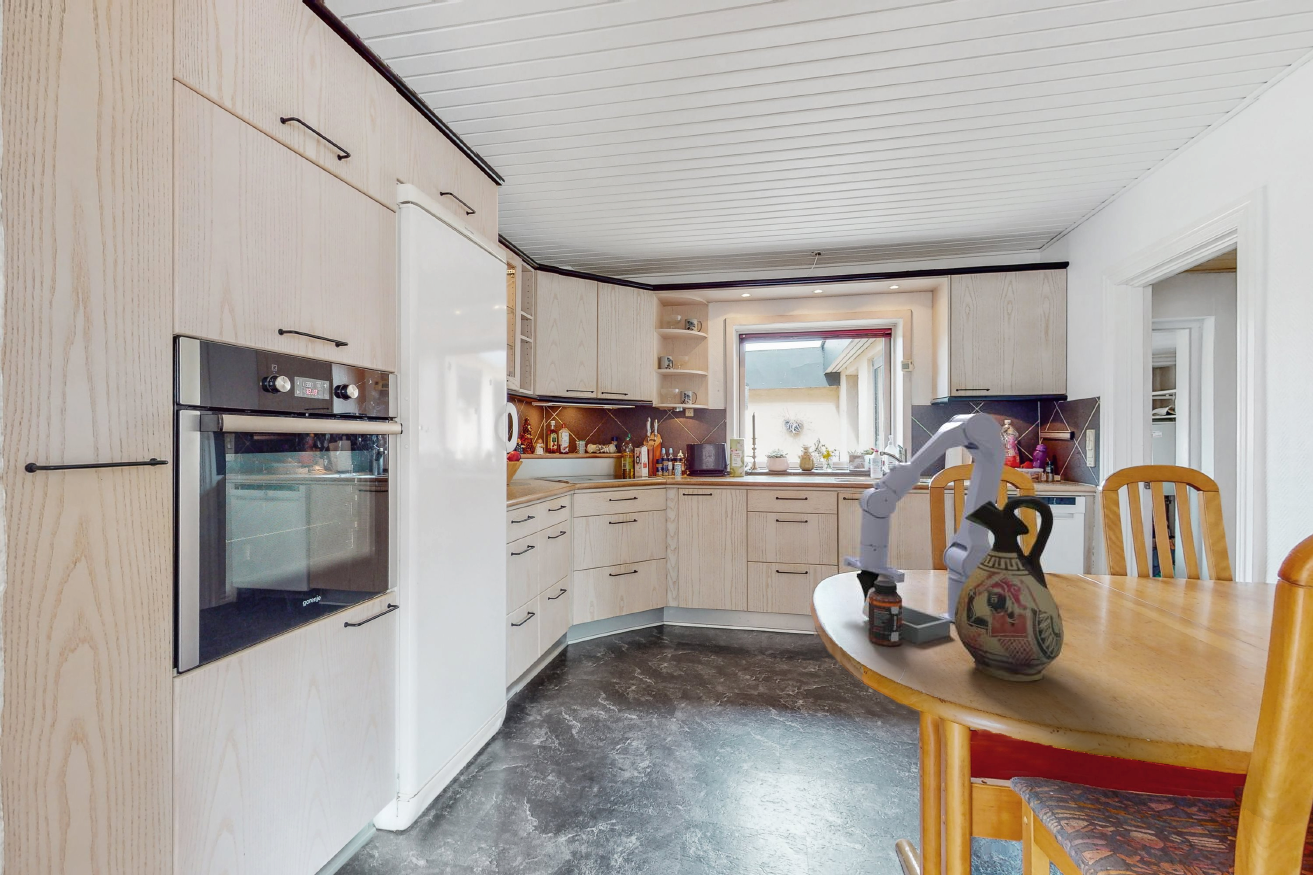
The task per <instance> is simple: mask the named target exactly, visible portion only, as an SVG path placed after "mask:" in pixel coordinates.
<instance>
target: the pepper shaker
mask: <svg viewBox="0 0 1313 875" xmlns="http://www.w3.org/2000/svg"><path fill="white" fill-rule="evenodd" d="M878 580H885V581H892V582H894V581H893V580H890V579H888V578H887V577H885V576H884V575H879V577H878ZM878 580H877V581H878ZM874 590H875V589H874V587H873V588H871V589H870V590H869V592H868V595H867V598H866V601H865V604H864V605H863V607H862V611H861V614H862V615H864V616H865V617H866V618H868V619H869V594H870V593H871V592H873V591H874Z"/></svg>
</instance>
